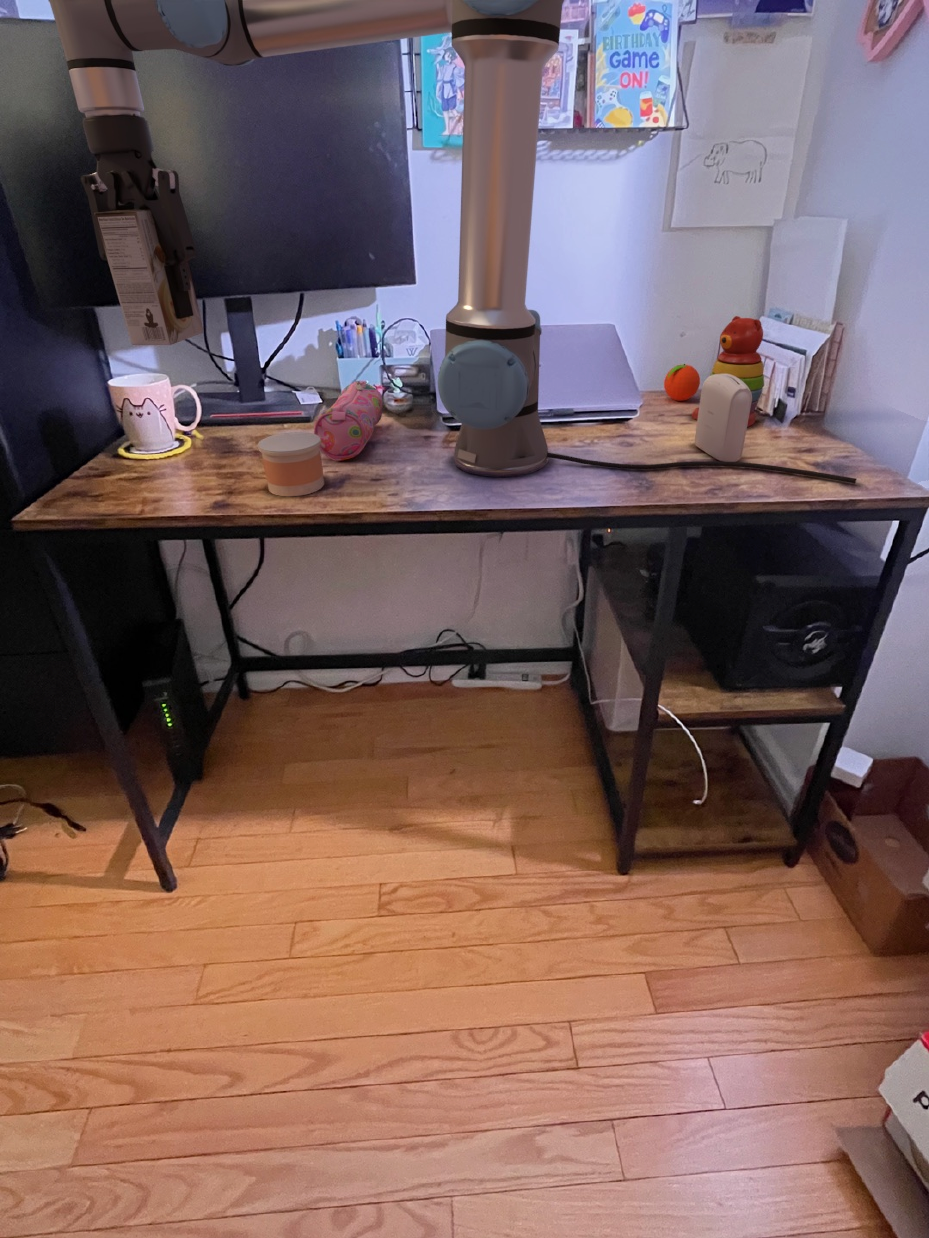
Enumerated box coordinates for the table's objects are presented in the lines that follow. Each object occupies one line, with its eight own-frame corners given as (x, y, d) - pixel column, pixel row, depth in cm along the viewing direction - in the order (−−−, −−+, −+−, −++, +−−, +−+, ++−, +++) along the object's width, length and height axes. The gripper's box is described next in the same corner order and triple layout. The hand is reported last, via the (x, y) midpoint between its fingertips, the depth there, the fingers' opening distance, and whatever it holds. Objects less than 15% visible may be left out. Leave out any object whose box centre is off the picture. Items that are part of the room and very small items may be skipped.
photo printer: (689, 444, 119) (700, 369, 113) (713, 442, 120) (725, 367, 113) (719, 464, 111) (733, 384, 104) (744, 462, 111) (759, 382, 105)
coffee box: (166, 333, 104) (135, 208, 96) (205, 333, 103) (177, 207, 95) (129, 346, 97) (92, 211, 88) (171, 345, 96) (137, 209, 87)
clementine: (677, 407, 138) (682, 370, 134) (651, 400, 143) (655, 364, 139) (704, 400, 142) (710, 364, 138) (678, 394, 147) (682, 358, 143)
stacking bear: (687, 416, 133) (701, 315, 124) (732, 410, 136) (750, 311, 126) (721, 432, 124) (739, 325, 115) (769, 425, 127) (791, 320, 117)
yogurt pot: (337, 478, 110) (331, 434, 106) (307, 500, 103) (300, 454, 99) (286, 473, 113) (279, 429, 109) (253, 493, 105) (244, 448, 102)
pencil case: (341, 425, 134) (335, 377, 129) (388, 425, 133) (384, 376, 129) (313, 464, 116) (305, 409, 111) (368, 463, 115) (362, 408, 111)
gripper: (199, 112, 86) (238, 313, 98) (75, 123, 92) (126, 311, 104) (157, 107, 80) (204, 322, 92) (28, 119, 86) (88, 320, 98)
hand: (163, 316), depth 98 cm, fingers closed on coffee box, 7 cm apart
